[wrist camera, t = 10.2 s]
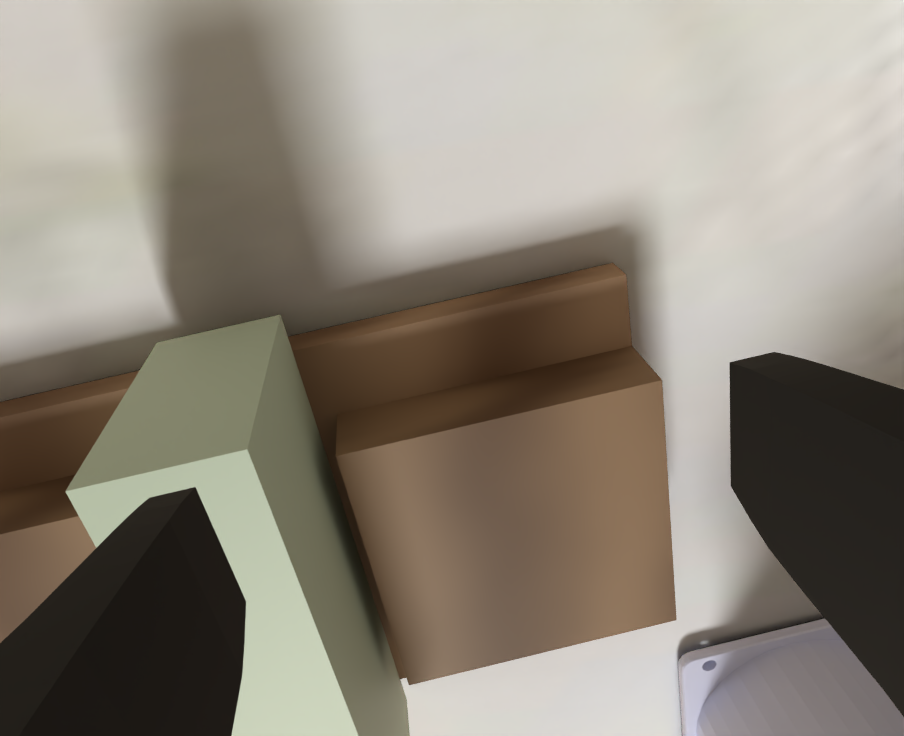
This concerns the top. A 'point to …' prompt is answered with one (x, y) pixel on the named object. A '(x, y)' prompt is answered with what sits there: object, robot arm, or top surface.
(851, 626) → the robot arm
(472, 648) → the slotted plank
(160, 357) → the sage block
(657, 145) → the top surface
